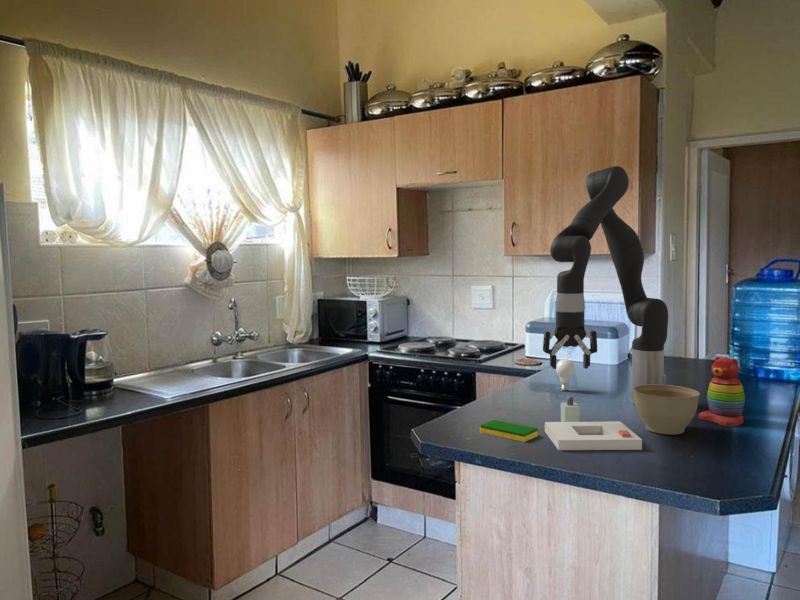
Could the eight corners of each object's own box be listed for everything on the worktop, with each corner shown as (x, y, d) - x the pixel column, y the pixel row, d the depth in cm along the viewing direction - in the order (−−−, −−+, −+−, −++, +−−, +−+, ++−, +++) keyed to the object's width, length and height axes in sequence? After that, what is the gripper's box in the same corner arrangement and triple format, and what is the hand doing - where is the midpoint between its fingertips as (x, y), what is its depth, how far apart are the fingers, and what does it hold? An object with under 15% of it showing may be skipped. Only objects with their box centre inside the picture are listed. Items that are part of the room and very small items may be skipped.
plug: (575, 423, 172) (575, 395, 171) (579, 428, 167) (579, 399, 166) (560, 423, 172) (560, 395, 171) (564, 428, 167) (565, 399, 166)
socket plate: (619, 430, 164) (620, 418, 164) (641, 449, 148) (642, 436, 148) (544, 431, 165) (544, 419, 164) (558, 450, 149) (558, 436, 148)
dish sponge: (524, 443, 156) (524, 434, 155) (479, 433, 165) (479, 424, 165) (538, 437, 161) (538, 428, 161) (494, 427, 170) (494, 419, 170)
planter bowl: (694, 442, 153) (695, 399, 152) (627, 433, 161) (627, 393, 160) (702, 427, 166) (702, 387, 165) (639, 419, 175) (639, 381, 174)
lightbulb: (554, 392, 210) (554, 360, 209) (557, 388, 216) (557, 357, 215) (573, 393, 208) (573, 361, 207) (575, 389, 214) (575, 358, 213)
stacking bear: (694, 418, 175) (696, 356, 174) (720, 414, 179) (721, 353, 178) (728, 427, 165) (730, 362, 164) (754, 423, 169) (756, 359, 168)
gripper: (592, 308, 171) (592, 365, 172) (541, 308, 171) (540, 366, 172) (600, 310, 163) (600, 370, 164) (546, 311, 164) (546, 371, 165)
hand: (569, 368), depth 168 cm, fingers open, 8 cm apart
